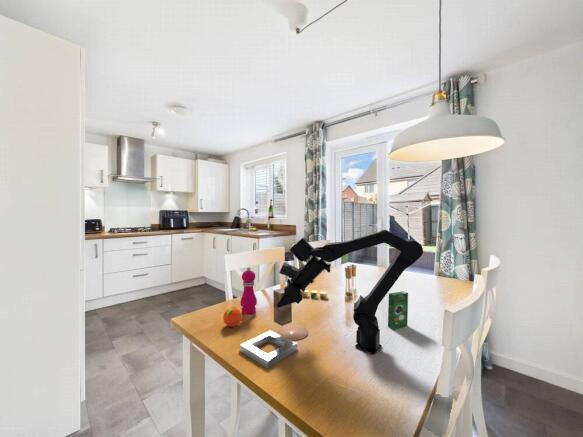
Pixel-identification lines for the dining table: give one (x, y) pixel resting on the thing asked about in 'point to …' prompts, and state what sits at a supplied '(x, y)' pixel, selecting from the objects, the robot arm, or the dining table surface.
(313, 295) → the yellow cube row
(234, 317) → the clementine
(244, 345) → the metal collar stand
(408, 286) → the dining table surface
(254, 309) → the pepper mill
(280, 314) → the walnut block
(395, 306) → the coffee box
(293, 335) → the terracotta coaster
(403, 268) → the robot arm
